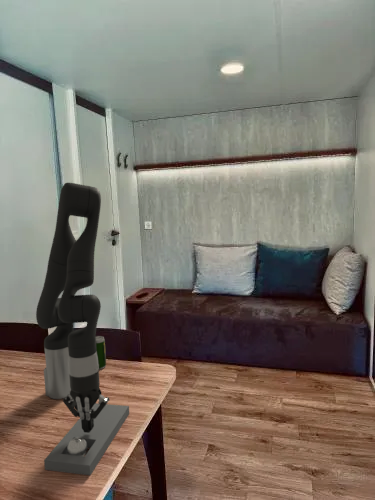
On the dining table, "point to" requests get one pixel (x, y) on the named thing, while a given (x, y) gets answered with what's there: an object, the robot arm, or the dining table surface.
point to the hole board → (88, 441)
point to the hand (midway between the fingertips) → (88, 430)
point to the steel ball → (77, 447)
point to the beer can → (101, 351)
